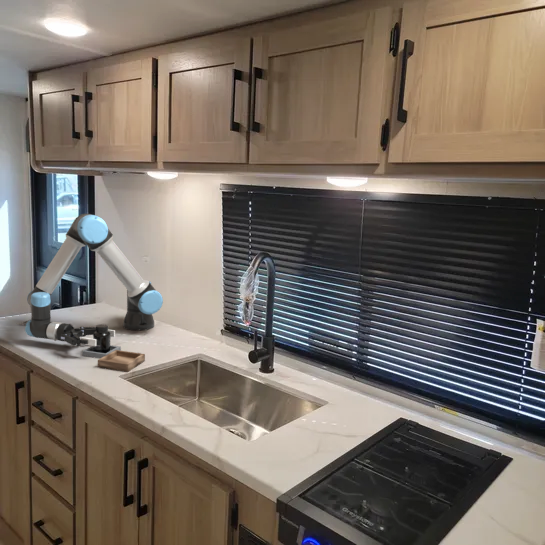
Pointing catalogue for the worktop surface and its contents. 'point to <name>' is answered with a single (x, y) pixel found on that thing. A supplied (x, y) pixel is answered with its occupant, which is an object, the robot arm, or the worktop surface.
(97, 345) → the supplement bottle
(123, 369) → the walnut tray
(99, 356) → the gray square frame
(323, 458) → the worktop surface
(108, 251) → the robot arm
